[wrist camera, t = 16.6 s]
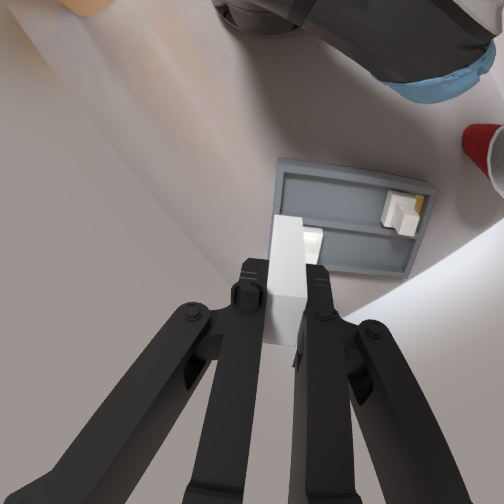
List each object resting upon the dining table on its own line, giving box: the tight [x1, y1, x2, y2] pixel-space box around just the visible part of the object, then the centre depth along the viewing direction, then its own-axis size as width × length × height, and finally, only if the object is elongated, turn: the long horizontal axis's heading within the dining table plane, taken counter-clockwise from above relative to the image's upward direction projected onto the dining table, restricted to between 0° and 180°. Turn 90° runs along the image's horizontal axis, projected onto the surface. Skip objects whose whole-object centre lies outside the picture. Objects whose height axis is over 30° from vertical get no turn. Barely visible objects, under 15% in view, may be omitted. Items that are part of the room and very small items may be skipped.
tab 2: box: [381, 190, 420, 237], centre depth 39 cm, size 5×4×6 cm
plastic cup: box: [462, 124, 504, 198], centre depth 31 cm, size 11×11×12 cm
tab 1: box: [303, 225, 323, 264], centre depth 44 cm, size 5×4×6 cm
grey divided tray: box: [268, 158, 438, 278], centre depth 45 cm, size 16×24×4 cm, turn 86°
